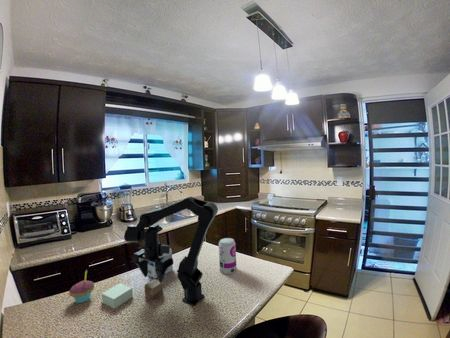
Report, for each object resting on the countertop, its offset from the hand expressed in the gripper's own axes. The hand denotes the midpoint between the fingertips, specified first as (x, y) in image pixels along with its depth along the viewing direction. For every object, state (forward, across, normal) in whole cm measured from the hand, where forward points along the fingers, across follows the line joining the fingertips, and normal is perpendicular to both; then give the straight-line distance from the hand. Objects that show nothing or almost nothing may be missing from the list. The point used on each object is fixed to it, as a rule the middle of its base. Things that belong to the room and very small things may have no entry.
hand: (153, 279), depth 88 cm
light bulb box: (+7, +12, -14) cm, 20 cm away
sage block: (+7, +11, +9) cm, 16 cm away
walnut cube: (+7, 0, 0) cm, 7 cm away
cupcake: (+7, +24, +16) cm, 30 cm away
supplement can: (+7, -17, -31) cm, 36 cm away
